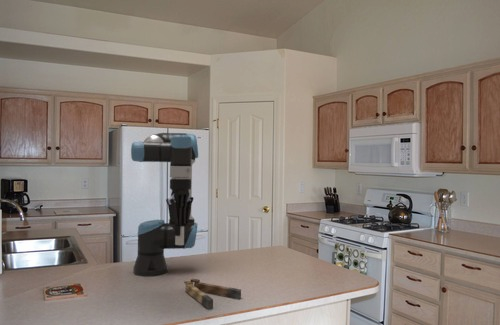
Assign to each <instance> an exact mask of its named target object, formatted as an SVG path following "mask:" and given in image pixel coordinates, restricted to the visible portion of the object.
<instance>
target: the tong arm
mask: <svg viewBox="0 0 500 325" xmlns="http://www.w3.org/2000/svg"><path fill="white" fill-rule="evenodd" d="M183 283H184V284H185V292H186V293H187V294H188V295H189V296H191V297H192V298H194V299H195V300H196V301H197V302H199V304H201V305H202V306H204V307H205V308H206V309H208V310H209V309H213V308H214V298H212V297H211V296H209V295H208V294H207V293H205V292H202V291H200V290H199V289H198V288H196V287H195V286H194V284H193V285H192V282H190V280H189V279H188V280H184V282H183Z"/></svg>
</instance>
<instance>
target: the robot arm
mask: <svg viewBox="0 0 500 325" xmlns="http://www.w3.org/2000/svg"><path fill="white" fill-rule="evenodd" d="M197 140H198V139H197V137H196V135H195V134H194V133H188V132H182V133H180V132H173V133H172V132H160V133H155V134H152V135H149V136H147V137H146V138H145V139H144V140H143V141H133V142H132V143H131V149H130V152H131V153H130V156H131V160H132V161H133V162H139V163H153V162H154V163H170V164H169V167H170V168H169V177H170V179H169V189H170V190H171V193H170V197H169V198H166V199H165V201H166V204H167V207H168V208H167V209H168V215H169V219H168V222H165V220H164V219H152V220H147V221H143V222H141V223H139V225H138V228H137V256H136V260H135V262H134V265H133V272H132V273H133V274H134V275H136V276H140V277H156V276H162V275H164V274H166V273H167V272H168V264H167V261H166V256H165V252H164V251H165V250H167V249H168V250H171V249H172V250H174V249H175V250H179V249H180V250H182V249H184V250H186V249H193V248H194V247H195V245H196V240H197V239H196V238H197V232H198V223H197V222H195V218H194V217H193V215H192V204H193V202H194V197H193V196H192V193H193V190H192V189H193V188H192V186H193V185H192V184H193V182H192V180H193V175H192V174H193V165H194V163H195V162H196V159H198V158H199V148H198V141H197Z"/></svg>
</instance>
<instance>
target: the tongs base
mask: <svg viewBox="0 0 500 325" xmlns="http://www.w3.org/2000/svg"><path fill="white" fill-rule="evenodd" d="M189 281H190V282H192V285H193V286H195V287H196V288H198V289H199V290H200V291H202V292H203V293H205V294H211V295H215V296H220V297H221V296H222V297H224V298H225V297H226V298H230V299H235V300H240V299H241V298H242V289H241V288H240V289H239V288H235V287H228V286H222V285H218V284H217V285H216V284H211V283H207V282H201V281H200V279H198V278H191V279H190V280H189Z"/></svg>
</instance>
